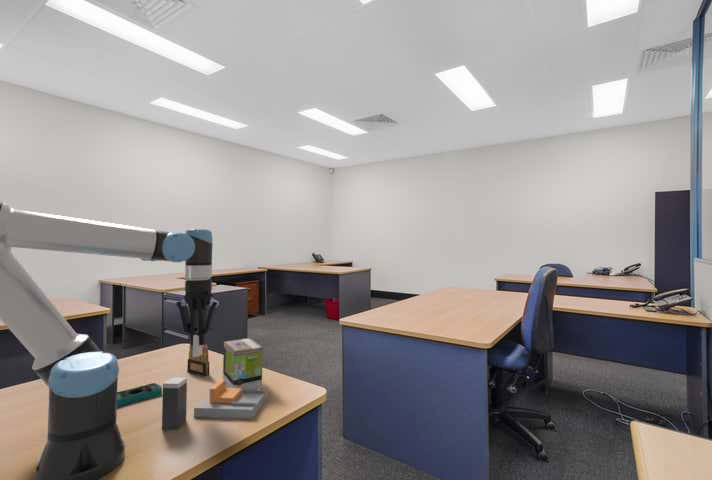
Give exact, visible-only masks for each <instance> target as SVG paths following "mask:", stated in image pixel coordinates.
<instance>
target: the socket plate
mask: <svg viewBox="0 0 712 480" xmlns="http://www.w3.org/2000/svg"><path fill="white" fill-rule="evenodd" d="M266 398H267V399H268V389H267V390H266V389H261V390H242V394H241V395H240V396H239V397H238V398H237V399H236V400H235V401H234V402H232V403H210V393H209V394H208V395H207V396H205V398H204V399H203V400H201V402H199V403H198V404H197V405H196V406H195V407H193V417H194V418H217V419H218V418H221V419H225V418H226V419H248V420H249V419H251V420H252V419H253V418H254V417H255V415H257V413H258V411H259V410H260V408H261V407H262V406H263V404H264V403H265V401H267V399H266Z"/></svg>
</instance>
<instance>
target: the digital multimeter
mask: <svg viewBox="0 0 712 480" xmlns="http://www.w3.org/2000/svg"><path fill="white" fill-rule="evenodd" d="M160 396H163V386H161V385H160V384H159V383H156V382H153V383H152V382H151V383H148V384H146V385H141V386H136V387H134V388H129V389H125V390H120V391H117V408H120V407H123V406H126V405H130V404H135V403H137V402H141V401H144V400H149V399H152V398H155V397H160Z"/></svg>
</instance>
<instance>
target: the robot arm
mask: <svg viewBox="0 0 712 480" xmlns="http://www.w3.org/2000/svg"><path fill="white" fill-rule="evenodd" d="M213 245H214V243H213V233H212V231H211V230H209V229H206V228H205V229H202V228H201V229H200V228H199V229H198V228H197V229H196V228H189V229H186V230H185V233H184V232H180V231H175V232H171V231H165V230H163V231H162V230H155V229H151V228H143V227H138V226H137V227H136V226H129V225H124V224H117V223H116V224H115V223H109V222H102V221H96V220H89V219H84V218H83V219H82V218H75V217H69V216H62V215H56V214H54V215H53V214H49V213H41V212H36V211H35V212H34V211H27V210H21V209H15V208H12V206H11V205H10V204H8V203H7V202H1V201H0V320H1V322H2V323H3V324H4V325H5V326H6V327H7V328H8V330H9V331H10V332H11V333H12V334H13V335H14V336H15V337H16V339H17V340H18V341H19V342H20V344H22V345H23V346H24V348H26V350H27V351H28V352H29V353H30V354H31V356H32V357H34V360H33V364H32V366H31V369H32V370H33V372H35V373H36V375H37V376H38V377H39V378H40V379H41V380H42V382H44V384H45V385H46V386H47V387H48V413H47V414H48V415H47V416H48V417H47V439H46V444H45V446H44V447H43V451H42V453H41V456H40V458H39V462H38V464H37V465H36V468H35V470H34V474H33V475H34V477H33V478H34V479H33V480H96V479H97V480H98V479H101V478H102V477H104V476H105V475H106V476H107V474H109V473H111V472H112V471H113V470H115V469H116V468H118V466H119V465H120V464H121V463H122V462H123V460H124V459H125V455H126V454H125V453H126V445H125V442H124V439H123V438H122V435H121V432H120V429H119V427H118V426H119V425H118V424H117V411H118V407H117V392H118V378H119V377H118V376H119V373H120V367H119V364H118V363H119V362H118V358H117V357H116V355H114V354H113V353H110V352H104V351H103V350H101V349H100V347H98V346H97V344H96V343H95V342H94V341H93V340H92V338H91V337H90V335H88V334H86V333H84V334H83V333H77V332H76V331H75V330H74V329H73V327H72V326H71V325H70V323H69V322H68V321H67V319H66V318H65V317H64V316H63V315H62V313H61V312H60V311H59V310H58V309H57V307H56V306H55V305H54V304H53V302H52V301H51V300H50V298H48V296H47V295H46V294H45V292H44V291H43V290H42V289H41V288H40V286H39V285H38V284H37V282H36V281H35V280H34V279H33V278H32V276H31V275H30V274H29V273H28V272H27V270H26V269H25V268H24V266H23V265H22V264H21V263H20V262H19V261H18V259H17V258H16V257H15V256H14V254H13V252H12V248H21V249H28V250H29V249H30V250H42V251H53V252H63V253H65V252H66V253H75V254H85V255H86V254H87V255H97V256H99V255H100V256H108V257H109V256H110V257H118V258H119V257H120V258H121V257H122V258H131V259H132V258H133V259H140V260H141V261H144V262H145V261H147V262H155V261H156V262H157V261H158V262H163V261H164V262H171V263H182V262H185V266H184V267H185V268H184V270H185V271H184V272H185V275H184V278H185V280H184V292H185V295H184V296H183V299H181V300H179V301H176V303H175V304H176V306H177V308H178V311H179V314H180V319H181V322H182V328H183V331H184V333H185V334H189V335H190V342H191V345H193V357H198V356H200V355H202V345H203V344H204V345H206V334H207V333H210V332H211V331H212V328H213V324H214V321H215V317H216V314H217V313H216V312H217V309H218V307H219V306H220V305H221V301H220V300H216V299H214V297H213V294H212V290H213V280H212V279H211V278H212V276H213ZM208 306H209V309H208ZM207 311H208V314H207Z"/></svg>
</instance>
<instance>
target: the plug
mask: <svg viewBox="0 0 712 480" xmlns="http://www.w3.org/2000/svg"><path fill="white" fill-rule="evenodd" d="M187 388H188V377H174V376H173V377H171V378H169V379H168V380H166V381H165V382H162V401H161V402H162V407H161V408H162V410H161V411H162V412H161V430H178V429H179V428H180V427H181V426H183V425H184V424H185V423H186V422H187V402H188V401H187V399H188V397H187V396H188V395H187V392H188V389H187Z"/></svg>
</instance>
